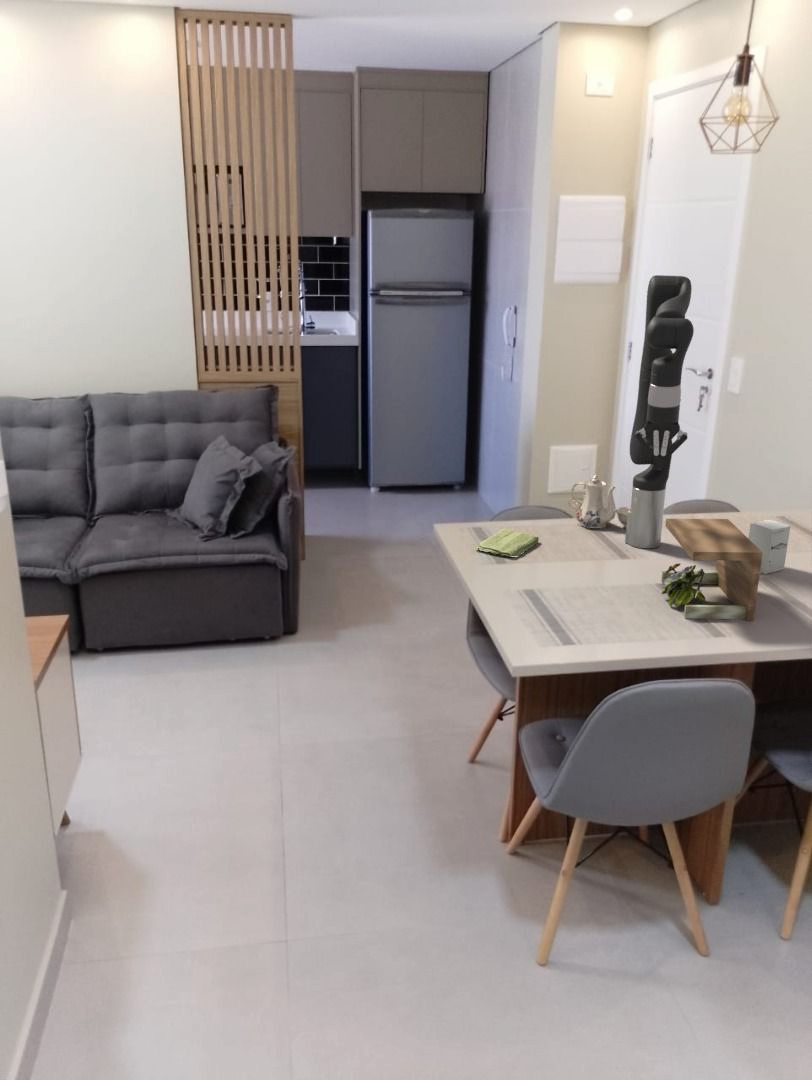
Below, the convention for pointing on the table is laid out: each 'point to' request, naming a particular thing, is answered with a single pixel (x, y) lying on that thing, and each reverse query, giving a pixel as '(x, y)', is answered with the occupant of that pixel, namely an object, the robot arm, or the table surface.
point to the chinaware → (596, 505)
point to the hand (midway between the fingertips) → (658, 468)
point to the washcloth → (508, 543)
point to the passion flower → (676, 582)
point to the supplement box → (770, 543)
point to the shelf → (720, 565)
